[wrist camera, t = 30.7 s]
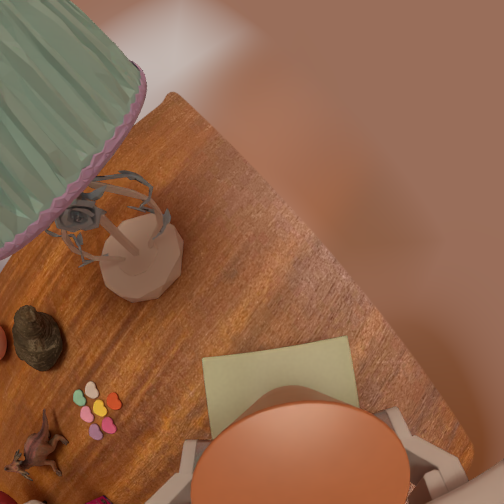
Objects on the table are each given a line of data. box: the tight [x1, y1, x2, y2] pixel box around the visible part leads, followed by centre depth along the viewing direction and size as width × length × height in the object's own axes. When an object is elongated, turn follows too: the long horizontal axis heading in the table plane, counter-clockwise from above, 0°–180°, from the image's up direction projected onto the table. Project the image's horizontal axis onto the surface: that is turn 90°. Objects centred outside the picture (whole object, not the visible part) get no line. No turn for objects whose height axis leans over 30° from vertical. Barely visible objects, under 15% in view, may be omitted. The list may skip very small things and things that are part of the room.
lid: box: [202, 335, 360, 439], centre depth 23 cm, size 13×12×1 cm
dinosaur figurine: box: [4, 409, 69, 481], centre depth 24 cm, size 14×6×9 cm, turn 157°
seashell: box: [10, 305, 63, 376], centre depth 32 cm, size 11×12×10 cm
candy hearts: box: [73, 382, 122, 440], centre depth 31 cm, size 8×8×1 cm
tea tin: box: [190, 385, 410, 504], centre depth 10 cm, size 5×5×11 cm
